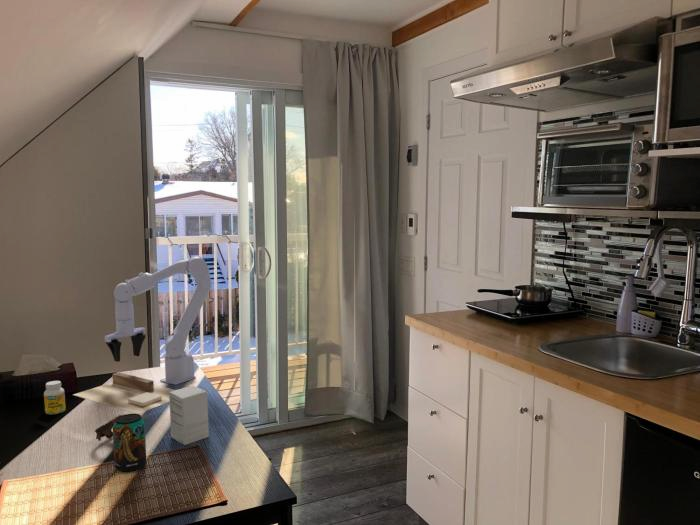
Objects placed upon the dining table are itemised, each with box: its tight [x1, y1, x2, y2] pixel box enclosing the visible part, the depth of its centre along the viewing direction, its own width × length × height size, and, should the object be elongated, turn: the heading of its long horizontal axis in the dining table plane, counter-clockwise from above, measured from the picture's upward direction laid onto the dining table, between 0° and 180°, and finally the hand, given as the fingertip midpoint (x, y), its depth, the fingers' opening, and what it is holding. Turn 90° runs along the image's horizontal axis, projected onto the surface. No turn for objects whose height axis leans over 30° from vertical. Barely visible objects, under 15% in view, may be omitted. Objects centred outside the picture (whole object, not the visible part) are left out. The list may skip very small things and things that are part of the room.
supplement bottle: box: [43, 380, 66, 415], centre depth 168 cm, size 5×5×10 cm
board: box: [72, 381, 176, 416], centre depth 183 cm, size 20×32×1 cm, turn 58°
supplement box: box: [168, 385, 210, 446], centre depth 151 cm, size 7×7×13 cm
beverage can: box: [112, 413, 148, 474], centre depth 134 cm, size 7×7×12 cm
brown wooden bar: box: [112, 371, 155, 392], centre depth 190 cm, size 2×18×3 cm, turn 58°
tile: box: [128, 392, 162, 406], centre depth 176 cm, size 7×1×7 cm
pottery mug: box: [94, 414, 144, 441], centre depth 149 cm, size 12×10×8 cm
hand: (127, 358), depth 193 cm, fingers open, 7 cm apart
